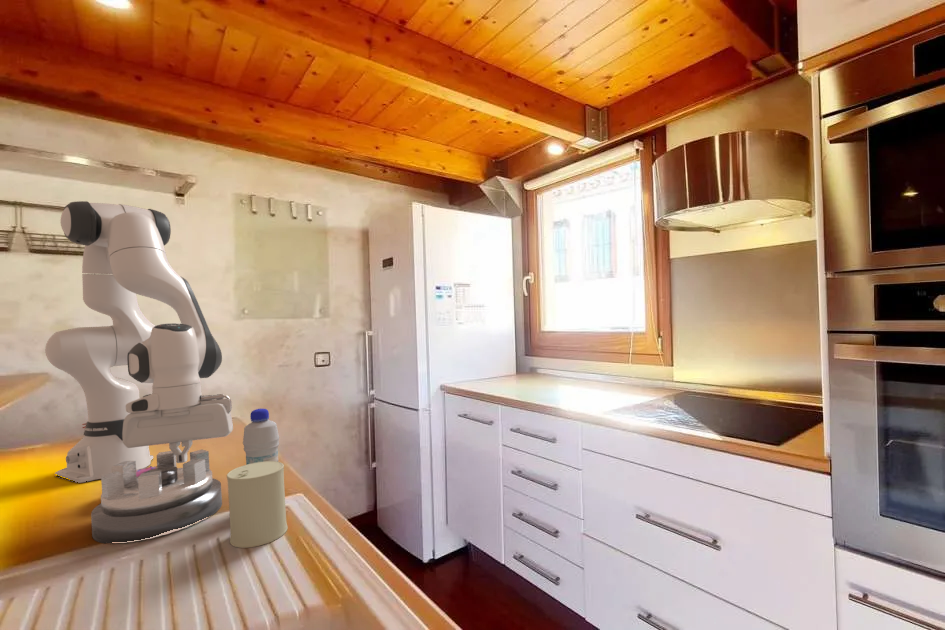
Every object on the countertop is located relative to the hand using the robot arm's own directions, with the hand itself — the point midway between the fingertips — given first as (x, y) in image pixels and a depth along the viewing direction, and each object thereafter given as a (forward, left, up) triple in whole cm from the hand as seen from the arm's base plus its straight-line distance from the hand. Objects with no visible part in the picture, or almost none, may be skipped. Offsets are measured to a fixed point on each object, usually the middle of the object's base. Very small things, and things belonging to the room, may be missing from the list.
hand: (182, 462), depth 97 cm
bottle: (+21, +1, -9) cm, 23 cm away
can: (+29, -9, -9) cm, 32 cm away
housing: (+3, -7, -8) cm, 11 cm away
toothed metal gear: (+3, -7, -4) cm, 9 cm away
